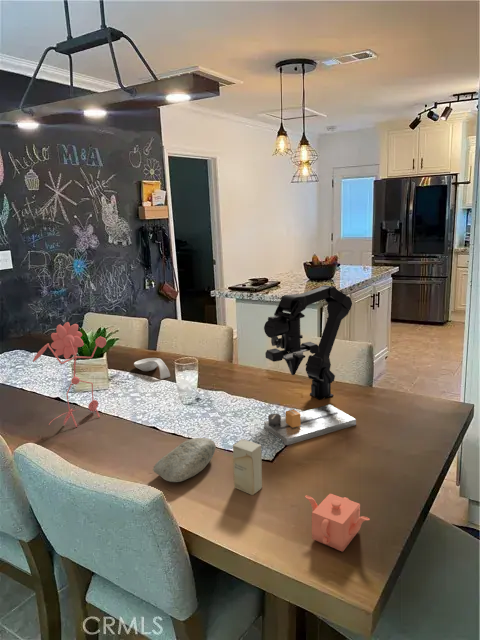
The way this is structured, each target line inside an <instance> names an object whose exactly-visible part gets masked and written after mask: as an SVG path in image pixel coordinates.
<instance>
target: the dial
mask: <svg viewBox="0 0 480 640" xmlns="http://www.w3.org/2000/svg"><path fill="white" fill-rule="evenodd" d="M281 417H282V416H281V414H279V413H270V414H269V415H268V418H267V421H268V422H269V424H272V425H277V424H280V423H281Z"/></svg>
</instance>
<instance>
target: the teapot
mask: <svg viewBox="0 0 480 640" xmlns="http://www.w3.org/2000/svg"><path fill="white" fill-rule="evenodd" d="M304 497H305V498H306V499H307V500H308V501H309V503H310V505H311V510H312V512H311V539H312V540H314V541H316V542H318V543H321V544H323V545H325V546H328V547H331V548H333V549H335V550H337V551H340V552H342V553H343V552H344V551H345V550H346V549H347V547H348V546H349V544H350V543H351V542H352V541H353V540H354V538H355V537H356V535H357V534H358V532H360V529H361V527H362V524H363V523H364V522H366V521H371V520H370V518H369V517H368V516H364V515H362V516H361V515H360V514H361V503H358V502H356V501H353V500H351V499H349V497H345V496H344V497H342V496H338V495H335V494H333V493H329V494H328V495H326V497H325V498H324V499H323V500H322V501H321V502H320V503H319V504H318V503H317V502H316V500H315V499H314V498H313V497H312V496H310V495H305V496H304Z"/></svg>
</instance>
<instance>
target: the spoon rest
mask: <svg viewBox="0 0 480 640" xmlns="http://www.w3.org/2000/svg"><path fill="white" fill-rule="evenodd" d="M133 366H134V367H135V368H136V369H139V370H140V371H142V372H149V371H154V370H155V369H156V368H157V367H158V369H159V378H160V380H162V379H167V378H170V377H171V372H170V370H169V368H168V366H167V365H166V363H165V362H164V361H163V360H162V359H161V358H157V357H148V358H143V359H139V360H137V361H135V362H133Z"/></svg>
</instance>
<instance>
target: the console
mask: <svg viewBox="0 0 480 640" xmlns="http://www.w3.org/2000/svg"><path fill="white" fill-rule="evenodd" d="M298 412H299V411H298ZM299 413H300V415H301V426H297V427H294V428H292V427H291V426H289V425H288V424H287V423H286V415H284V416H281V423H280V424H277V425H272V424H269V422H268V420H266V421H263V424H264V429H266V430H267V431H268V432H269V431H270V433H271V434H272V433H273V434H274V435H273V434H272V435H273V436H274V437H276V436H277V437H278V438H279V439H278V438H277V437H276V438H277V439H278V440H280V439H281V440H282V441H283V442H284V443H283V442H282V441H281V440H280V441H281V442H282V443H283V444H285V446H290V445H292V444H296V443H300V442H303V441H307V440H310V439H313V438H317V437H319V436H320V437H321V436H323V435H326V434H330V433H334V432H337V431H340V430H343V429H347V428H350V427H353V426H354V427H355V426H356V425H357V419H356V418H354V417H353V416H351V415H349V414H348V413H346V412H344V411H343V410H340V408H337V407H335V406H334V405H332V404H326V405H322V406H319V407H315V408H312V409H307V410H303V411H300V412H299Z"/></svg>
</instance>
